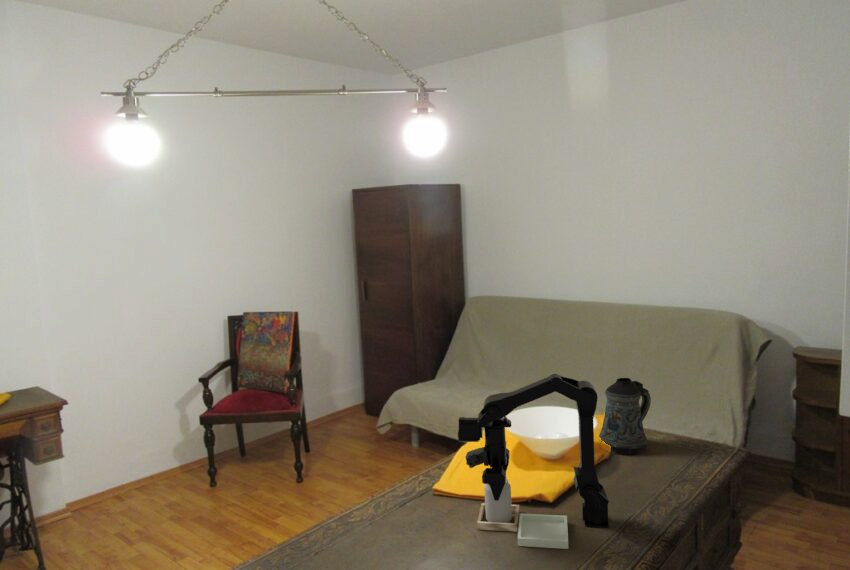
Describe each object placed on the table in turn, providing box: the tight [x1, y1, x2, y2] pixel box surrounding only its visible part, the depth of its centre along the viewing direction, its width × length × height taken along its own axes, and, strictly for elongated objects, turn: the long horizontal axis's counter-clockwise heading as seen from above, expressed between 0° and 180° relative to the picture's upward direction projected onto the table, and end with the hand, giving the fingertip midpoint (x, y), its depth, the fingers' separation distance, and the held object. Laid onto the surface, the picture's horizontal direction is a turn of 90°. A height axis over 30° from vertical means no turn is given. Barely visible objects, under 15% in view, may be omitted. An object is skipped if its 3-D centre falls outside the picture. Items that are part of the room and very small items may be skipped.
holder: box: [476, 502, 520, 533], centre depth 169 cm, size 11×11×2 cm
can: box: [484, 478, 513, 523], centre depth 168 cm, size 8×8×12 cm
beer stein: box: [598, 377, 652, 456], centre depth 214 cm, size 16×19×25 cm
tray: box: [517, 512, 569, 550], centre depth 160 cm, size 13×13×2 cm
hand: (497, 493), depth 168 cm, fingers closed on can, 7 cm apart
